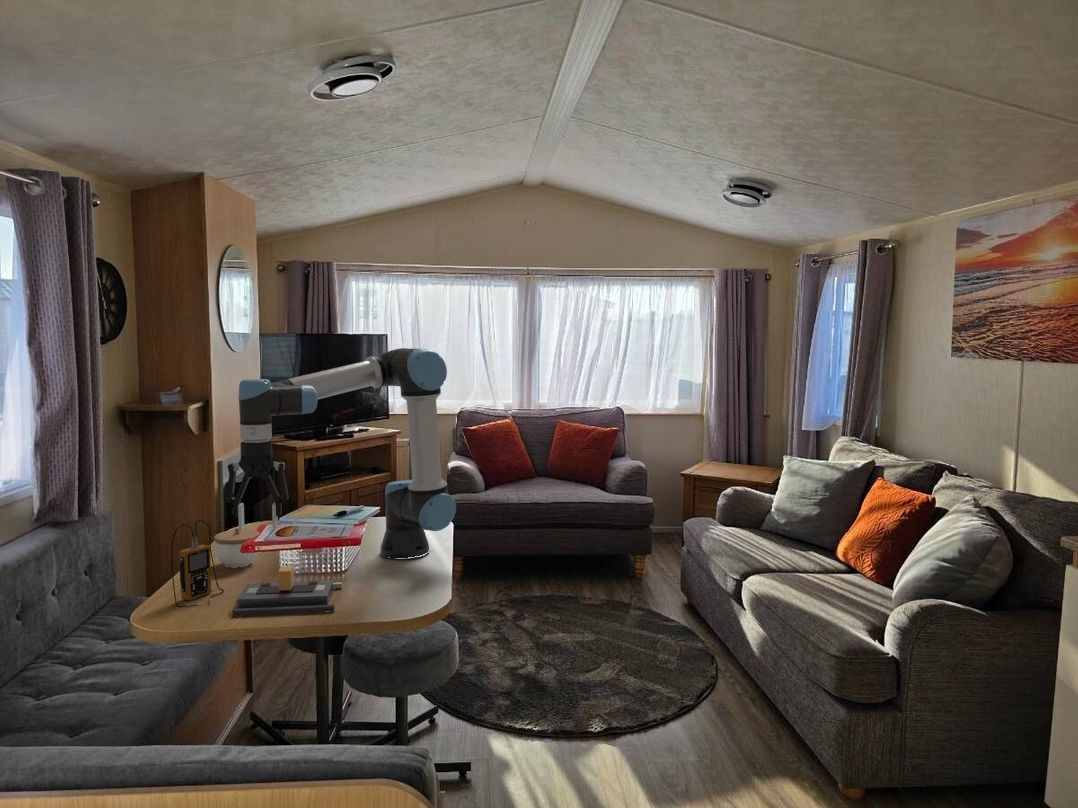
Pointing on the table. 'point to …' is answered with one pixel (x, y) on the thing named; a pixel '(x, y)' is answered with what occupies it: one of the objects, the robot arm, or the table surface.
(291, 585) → the orange rectangular block
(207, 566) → the multimeter
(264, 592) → the grey control panel
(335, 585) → the light grey rod
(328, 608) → the dark grey bar
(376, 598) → the table surface
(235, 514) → the robot arm
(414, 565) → the table surface
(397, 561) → the table surface
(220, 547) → the lidded bowl
